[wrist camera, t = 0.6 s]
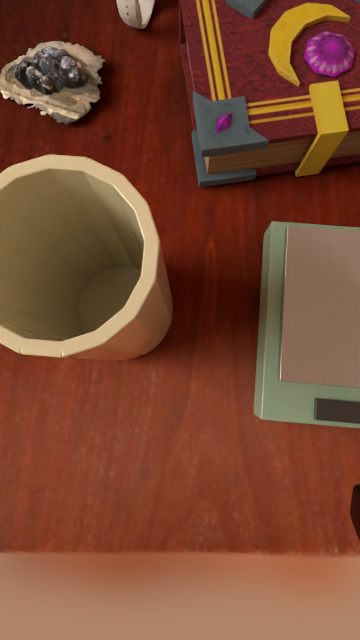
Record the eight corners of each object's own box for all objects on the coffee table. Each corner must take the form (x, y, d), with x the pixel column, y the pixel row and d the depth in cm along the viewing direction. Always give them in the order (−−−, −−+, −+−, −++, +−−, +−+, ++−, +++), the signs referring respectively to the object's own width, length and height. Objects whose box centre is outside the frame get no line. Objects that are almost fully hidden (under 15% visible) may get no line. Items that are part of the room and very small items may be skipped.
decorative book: (177, 47, 25) (174, -31, 20) (393, 17, 25) (445, -68, 20) (199, 191, 24) (202, 146, 19) (429, 159, 24) (494, 105, 19)
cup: (168, 363, 22) (147, 365, 10) (68, 355, 22) (-65, 346, 10) (177, 265, 23) (167, 162, 11) (80, 258, 23) (-31, 148, 11)
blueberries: (101, 131, 24) (94, 112, 22) (-9, 125, 25) (-25, 106, 23) (110, 47, 25) (104, 21, 23) (3, 42, 25) (-12, 16, 24)
